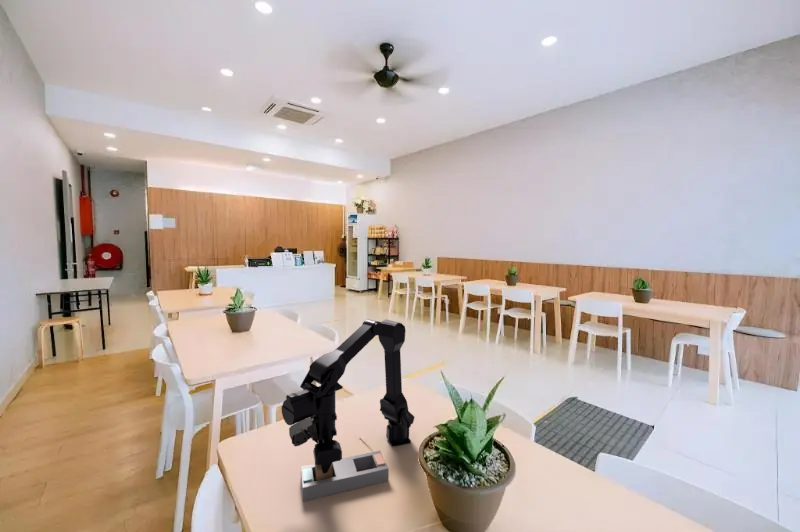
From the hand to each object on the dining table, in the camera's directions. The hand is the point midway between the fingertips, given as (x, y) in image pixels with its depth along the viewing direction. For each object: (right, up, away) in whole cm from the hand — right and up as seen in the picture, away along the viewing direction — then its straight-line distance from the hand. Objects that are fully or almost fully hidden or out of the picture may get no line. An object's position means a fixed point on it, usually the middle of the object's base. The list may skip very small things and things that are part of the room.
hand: (323, 467), depth 86 cm
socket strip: (+5, -5, +2) cm, 7 cm away
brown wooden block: (0, -3, 0) cm, 3 cm away
